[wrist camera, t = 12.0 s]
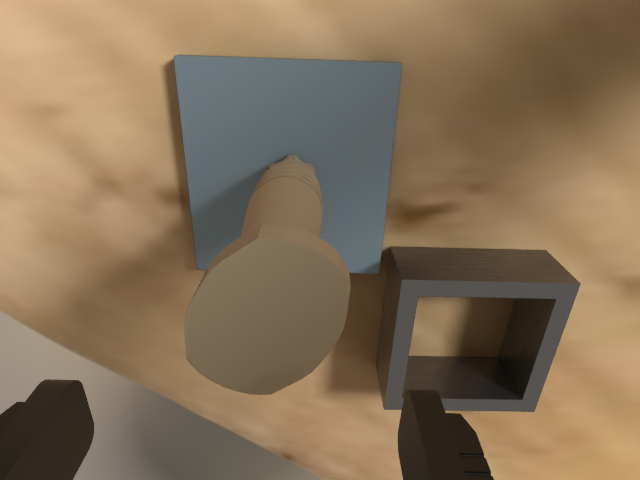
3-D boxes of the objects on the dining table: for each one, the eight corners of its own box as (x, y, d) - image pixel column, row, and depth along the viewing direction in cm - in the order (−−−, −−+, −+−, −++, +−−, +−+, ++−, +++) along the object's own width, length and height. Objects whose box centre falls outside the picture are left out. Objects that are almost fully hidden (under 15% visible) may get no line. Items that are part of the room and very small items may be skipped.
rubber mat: (178, 54, 25) (173, 55, 24) (399, 62, 25) (402, 63, 24) (200, 262, 31) (197, 269, 30) (377, 266, 32) (379, 273, 31)
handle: (235, 200, 28) (159, 360, 15) (282, 113, 26) (240, 211, 12) (299, 233, 29) (283, 411, 16) (350, 154, 27) (381, 284, 13)
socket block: (390, 246, 31) (402, 279, 27) (546, 250, 31) (580, 283, 27) (376, 366, 36) (383, 409, 32) (509, 368, 36) (534, 411, 32)
